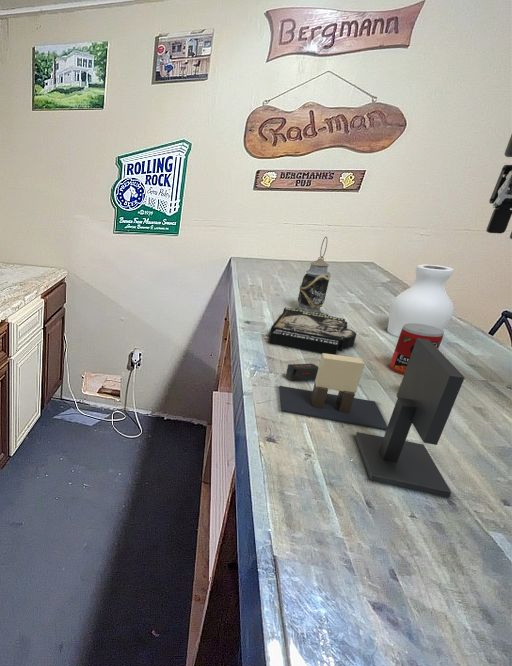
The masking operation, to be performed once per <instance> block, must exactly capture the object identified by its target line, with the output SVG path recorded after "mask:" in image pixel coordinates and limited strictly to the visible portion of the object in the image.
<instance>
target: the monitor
mask: <svg viewBox="0 0 512 666" xmlns="http://www.w3.org/2000/svg"><path fill="white" fill-rule="evenodd" d="M465 378H466V377H465V376H464V375H463V373H461V371H460V370H459V369H458V368H456V367H455V365H454V364H453V363H452V362H451V361H450V360H449V359H448V358H447V357H446V356H445V355H444V354H443V353H442V352H441V350H440V349H439V348H438V349H437V348H436V347H435V346H434V345H433V344H432V343H431V341H430V340H428V339H421V338H417V340H416V342H415V345H414V348H413V351H412V354H411V357H410V359H409V362H408V365H407V368H406V371H405V373H404V375H403V376H402V379H401V382H400V385H399V387H398V391H397V392H396V398H397V399H396V401H395V403H394V407H393V409H392V413H391V416H390V418H389V421H388V424H387V430H386V431H385V432H384V435H383V436H380V435H375V434H371V433H364V432H360V431H356V432H355V436H354V439H355V441H356V443H357V447H358V449H359V453H360V455H361V459H362V461H363V465H364V467H365V470H366V472H367V475H368V478H369V481H370V482H374V483H377V484H383V485H387V486H392V487H397V488H401V489H406V490H411V491H415V492H419V493H424V494H428V495H433V496H437V497H442V498H446V499H450V496H451V494H452V490H451V489H450V487H449V485H448V483H447V482H446V481H445V478H444V477H443V475H442V474H441V472H440V470H439V468H438V466H437V465H436V463H435V462H434V460H433V458H432V456H431V455H430V453H429V451H428V449H427V448H426V446H425V444H427V445H434V446H438V443H439V442H440V439H441V437H442V433H443V431H444V429H445V426H446V424H447V421H448V419H449V416H450V415H451V412H452V409H453V407H454V405H455V402H456V400H457V397H458V395H459V393H460V390H461V387H462V386H463V383H464V380H465ZM412 426H413V428H414V429H415V430H416V432H417V433H418V436H419V437H420V439H421V441H422V443H417V442H412V441H407V437H408V435H409V432H410V430H411V427H412Z"/></svg>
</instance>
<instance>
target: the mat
mask: <svg viewBox="0 0 512 666" xmlns="http://www.w3.org/2000/svg"><path fill="white" fill-rule="evenodd" d="M312 392H313V390H308V389H303V388H297V387H291V386H290V387H289V386H285V385H284V386H283V385H279V397H280V409H281V412H283V413H288V414H292V415H293V414H294V415H298V416H305V417H310V418H315V419H321V420H325V421H331V422H332V421H333V422H337V423H343V424H347V425H352V426H353V425H354V426H357V427H364V428H369V429H373V430H374V429H375V430H382V431H385V432H386V430H387V427H388V424H387V423H386V421H385V419H384V418H383V415H382V413H381V411H380V409H379V407H378V405H377V403H376V401H375V400H368V399H363V398H356V397H354V399H353V402H352V406H351V409H350V412H349V413H345V412H339V410H338V407H337V404H336V400H337V396H338V394H332V393H327V396H326V399H325V403H324V406H323V409H322V408H316V407H313V405H312V401H311V395H312Z"/></svg>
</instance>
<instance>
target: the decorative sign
mask: <svg viewBox="0 0 512 666" xmlns="http://www.w3.org/2000/svg"><path fill="white" fill-rule="evenodd" d="M268 337H269V341H268V344H269V345H273V346H279V347H286V348H290V349H295V350H301V351H306V352H311V353H316V354H321V355H322V353H325V354H333V355H337V352H343V350H346V349H350V348H353V347H354V345H355V341H356V337H357V332H356V331H354V330H352V329H350V328H348V321H346V319H345V318H343V317H335V316H332V315H329V314H328V313H324V312H319V313H317V312H311V311H304V310H298V308H297V309H296V308H292V307H284V308H283V311H282V313H281V314H280V316H279V317H278V318H277V319H276V321H274V323H273V324H272V326H271V327H270V332H269V336H268Z"/></svg>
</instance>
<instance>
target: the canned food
mask: <svg viewBox="0 0 512 666" xmlns="http://www.w3.org/2000/svg"><path fill="white" fill-rule="evenodd" d="M444 334H445V331H444V329H443V330H441V329H439V328H437V327H434V326H430V325H424V324H415V323H410V324H405V325H403V328H402V330H401V333H400V336H399V337H398V339H397V341H396V345H395V348H394V351H393V354H392V357H391V360H390V364H389V365H390V369H391V370H392V371H393V372H395V373H397V374H400V375H403V376H404V373H405V371H406V368H407V365H408V362H409V359H410V357H411V354H412V351H413V348H414V345H415V342H416V340H417V338H421V339H428V340H430V341H431V343H432V344H433V345H434V346H435V347H436V348H437V349H438V350H439V348H440V345H441V343H442V341H443V337H444Z"/></svg>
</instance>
